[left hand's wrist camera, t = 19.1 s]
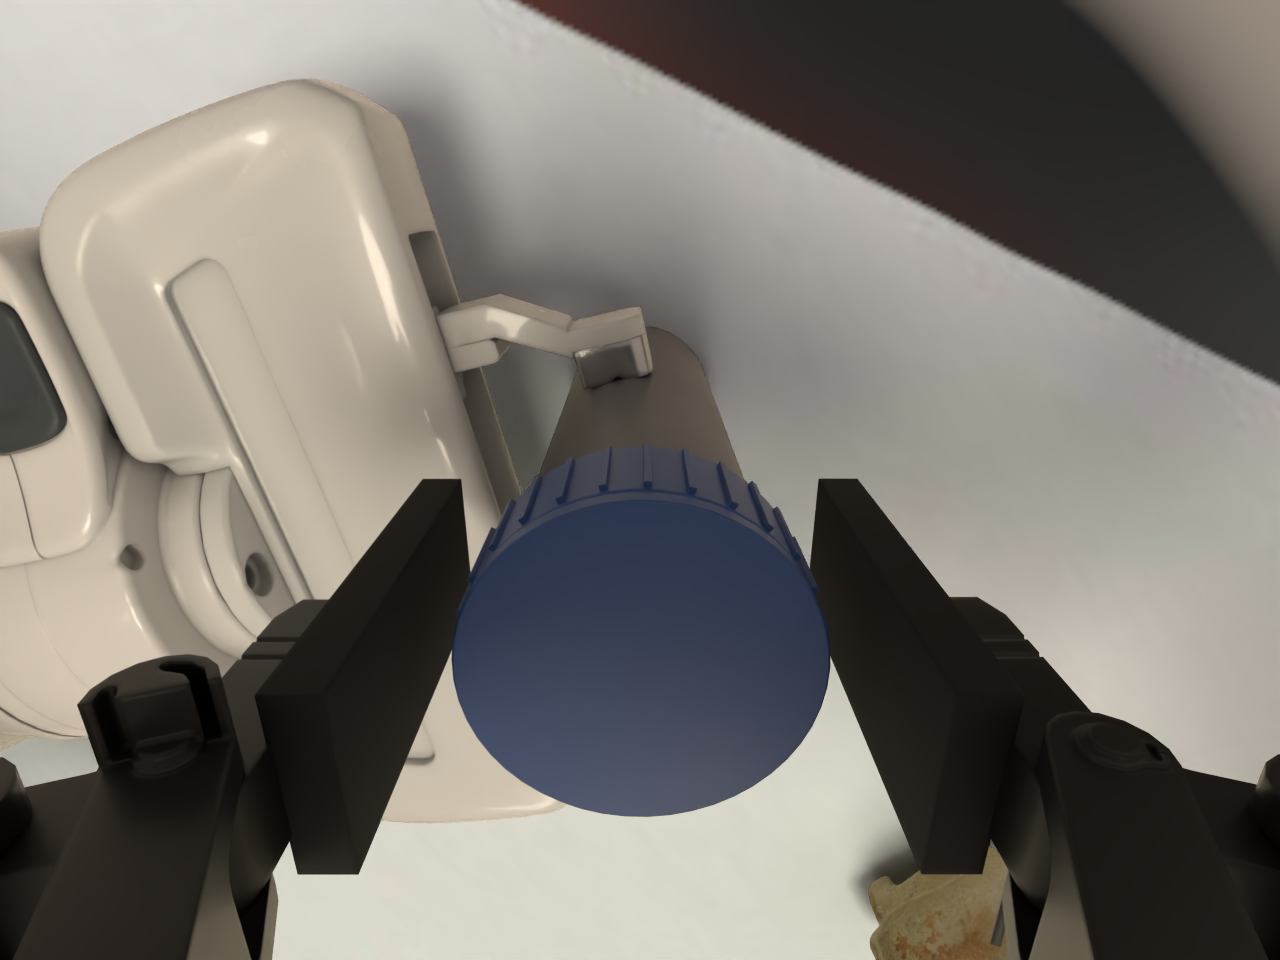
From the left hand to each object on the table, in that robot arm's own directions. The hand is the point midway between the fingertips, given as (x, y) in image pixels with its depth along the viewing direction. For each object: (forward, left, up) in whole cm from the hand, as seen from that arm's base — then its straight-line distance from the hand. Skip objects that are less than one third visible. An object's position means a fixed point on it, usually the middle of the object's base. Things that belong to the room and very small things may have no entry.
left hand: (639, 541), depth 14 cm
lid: (0, 0, +4) cm, 4 cm away
